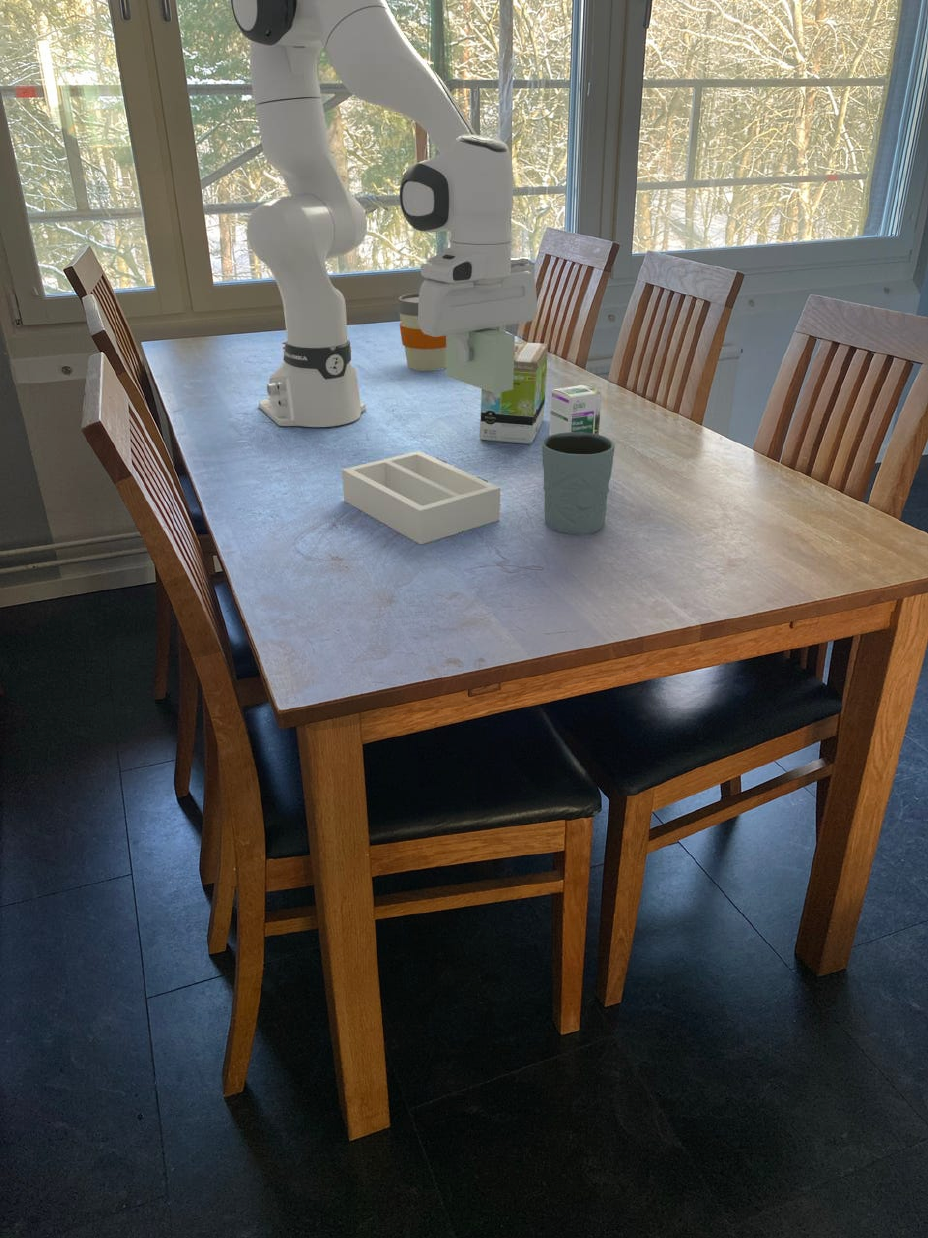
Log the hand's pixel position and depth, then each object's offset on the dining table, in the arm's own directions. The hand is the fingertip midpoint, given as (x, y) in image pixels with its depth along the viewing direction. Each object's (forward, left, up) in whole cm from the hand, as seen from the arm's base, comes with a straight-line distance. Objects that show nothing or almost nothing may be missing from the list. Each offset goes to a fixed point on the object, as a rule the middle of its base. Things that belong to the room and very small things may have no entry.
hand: (479, 358), depth 140 cm
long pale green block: (0, 0, -4) cm, 4 cm away
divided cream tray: (+6, -16, -19) cm, 25 cm away
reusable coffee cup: (-63, +35, -19) cm, 75 cm away
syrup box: (+10, +11, -19) cm, 24 cm away
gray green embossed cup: (+23, -1, -19) cm, 30 cm away
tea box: (-15, +20, -19) cm, 32 cm away
